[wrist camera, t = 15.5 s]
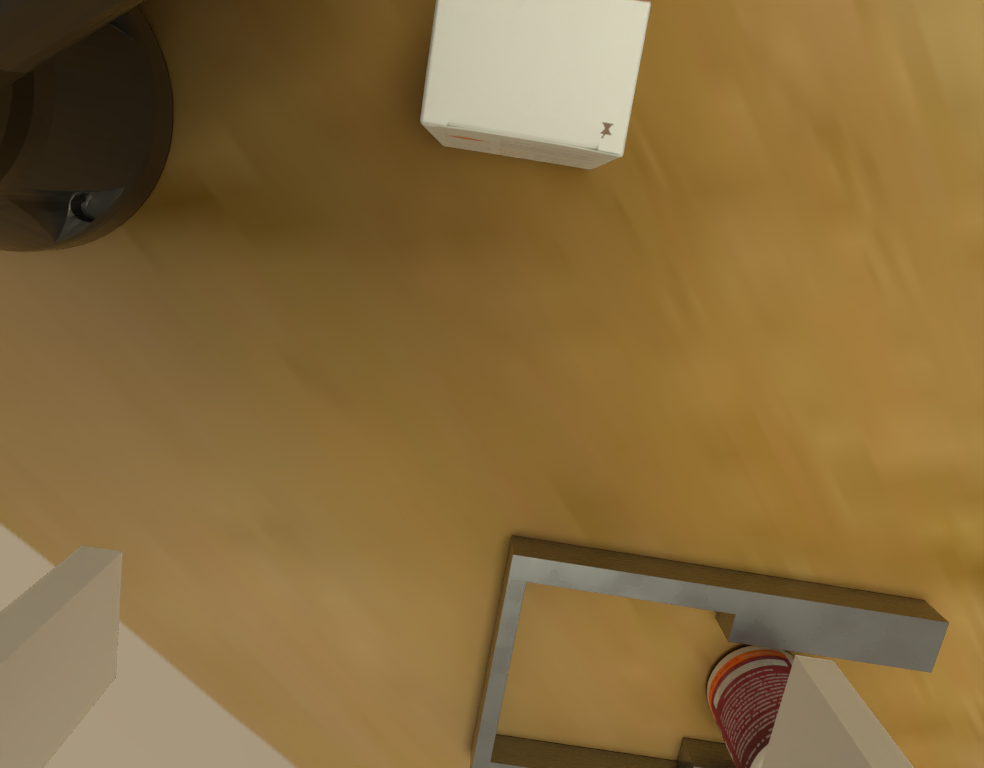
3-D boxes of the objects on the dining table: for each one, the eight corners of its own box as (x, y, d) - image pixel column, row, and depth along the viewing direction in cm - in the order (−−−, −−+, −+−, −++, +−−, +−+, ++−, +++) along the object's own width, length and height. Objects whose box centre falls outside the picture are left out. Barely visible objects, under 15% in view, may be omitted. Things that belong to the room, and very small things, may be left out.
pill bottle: (686, 706, 45) (746, 862, 34) (734, 625, 44) (812, 760, 33) (773, 742, 46) (860, 905, 35) (823, 663, 44) (929, 807, 34)
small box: (612, 58, 36) (659, -2, 26) (591, 172, 38) (627, 159, 27) (454, 30, 36) (438, -41, 26) (438, 147, 37) (417, 123, 27)
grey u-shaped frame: (470, 751, 46) (469, 780, 43) (512, 535, 42) (513, 554, 40) (853, 807, 47) (872, 838, 44) (924, 600, 43) (949, 622, 41)
